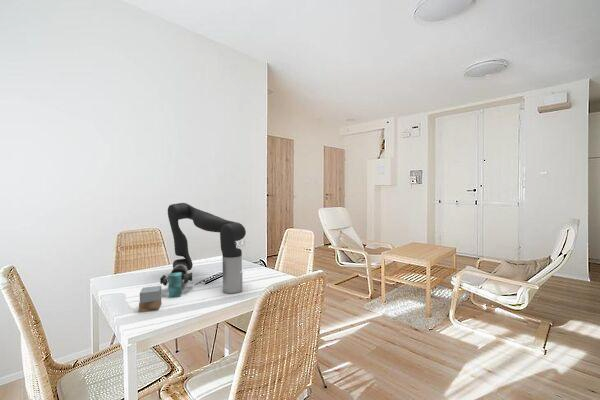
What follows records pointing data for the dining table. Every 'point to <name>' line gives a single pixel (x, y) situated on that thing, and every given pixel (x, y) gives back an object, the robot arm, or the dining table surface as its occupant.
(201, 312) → the dining table surface
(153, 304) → the walnut slab
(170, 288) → the teal pillar
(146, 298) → the grey slab
